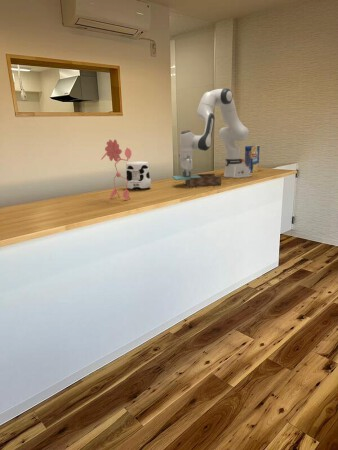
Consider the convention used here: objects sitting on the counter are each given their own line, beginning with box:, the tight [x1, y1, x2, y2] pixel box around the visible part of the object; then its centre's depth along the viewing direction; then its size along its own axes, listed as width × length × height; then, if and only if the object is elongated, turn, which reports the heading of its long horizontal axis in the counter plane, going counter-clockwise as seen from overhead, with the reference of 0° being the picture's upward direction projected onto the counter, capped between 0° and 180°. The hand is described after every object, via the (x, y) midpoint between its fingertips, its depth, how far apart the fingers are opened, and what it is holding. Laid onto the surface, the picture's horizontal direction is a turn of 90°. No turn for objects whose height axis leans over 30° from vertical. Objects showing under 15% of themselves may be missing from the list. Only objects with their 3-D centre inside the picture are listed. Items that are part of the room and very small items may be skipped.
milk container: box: [125, 160, 152, 191], centre depth 224 cm, size 17×17×18 cm
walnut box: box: [184, 172, 222, 188], centre depth 234 cm, size 22×15×6 cm, turn 102°
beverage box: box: [244, 145, 260, 174], centre depth 286 cm, size 7×11×22 cm, turn 130°
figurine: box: [100, 139, 132, 205], centre depth 189 cm, size 15×26×35 cm, turn 51°
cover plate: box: [172, 170, 200, 181], centre depth 231 cm, size 18×12×5 cm, turn 102°
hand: (186, 175), depth 231 cm, fingers closed on cover plate, 2 cm apart
